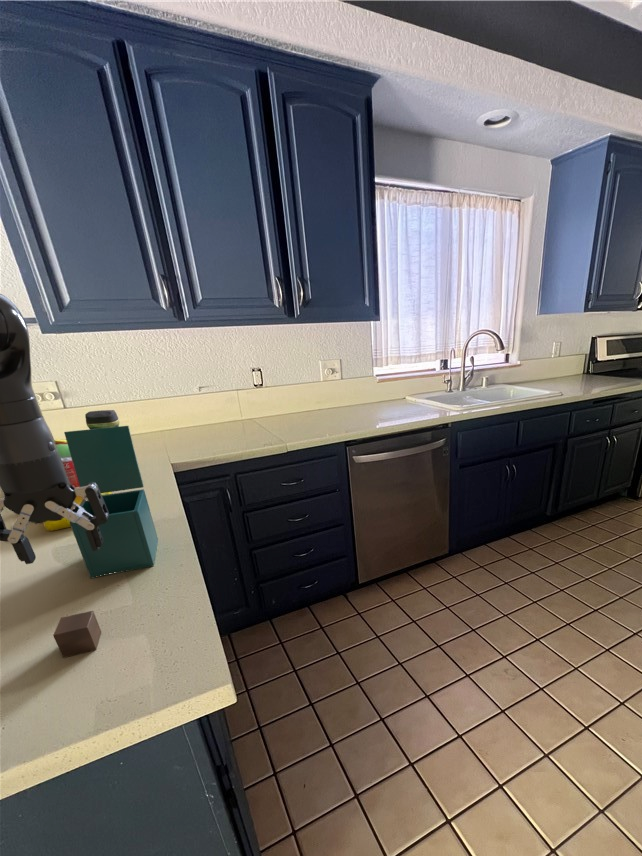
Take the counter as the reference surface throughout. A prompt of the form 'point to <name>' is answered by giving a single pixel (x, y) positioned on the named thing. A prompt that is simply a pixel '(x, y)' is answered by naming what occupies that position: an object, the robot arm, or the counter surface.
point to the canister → (120, 535)
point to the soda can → (70, 471)
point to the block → (77, 634)
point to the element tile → (64, 522)
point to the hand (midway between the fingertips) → (64, 555)
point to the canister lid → (105, 458)
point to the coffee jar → (101, 419)
